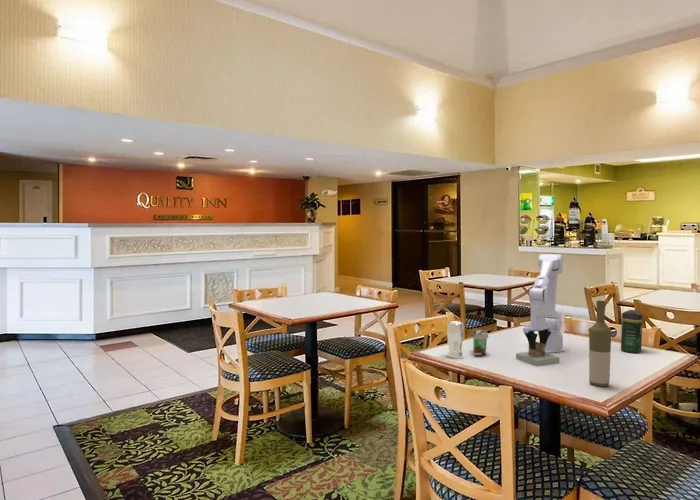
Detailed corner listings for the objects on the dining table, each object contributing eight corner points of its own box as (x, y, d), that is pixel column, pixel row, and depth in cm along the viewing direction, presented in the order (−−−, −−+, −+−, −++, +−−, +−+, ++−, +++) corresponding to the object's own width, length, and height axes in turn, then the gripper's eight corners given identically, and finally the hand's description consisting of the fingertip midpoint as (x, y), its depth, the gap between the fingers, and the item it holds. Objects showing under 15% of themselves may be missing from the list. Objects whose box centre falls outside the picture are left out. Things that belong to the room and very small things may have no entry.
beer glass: (466, 356, 207) (466, 322, 206) (458, 359, 202) (458, 324, 201) (452, 353, 212) (452, 320, 211) (443, 356, 207) (444, 322, 206)
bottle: (589, 386, 167) (590, 302, 166) (587, 380, 174) (588, 299, 172) (611, 388, 165) (613, 303, 163) (608, 382, 171) (610, 300, 170)
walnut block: (536, 353, 203) (536, 341, 203) (544, 355, 199) (544, 343, 199) (528, 354, 201) (528, 342, 201) (536, 357, 197) (537, 345, 197)
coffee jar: (639, 354, 209) (640, 312, 208) (619, 351, 214) (620, 310, 213) (643, 350, 216) (644, 309, 215) (623, 347, 221) (624, 308, 220)
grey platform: (537, 357, 208) (537, 350, 207) (559, 364, 196) (559, 357, 196) (516, 360, 203) (516, 353, 203) (536, 367, 192) (536, 360, 192)
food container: (489, 358, 204) (489, 335, 204) (474, 357, 205) (474, 334, 205) (487, 350, 216) (487, 329, 216) (473, 350, 217) (473, 328, 217)
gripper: (543, 313, 205) (542, 344, 206) (517, 315, 199) (517, 347, 200) (556, 315, 199) (555, 347, 200) (530, 318, 193) (530, 351, 194)
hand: (537, 348), depth 199 cm, fingers open, 5 cm apart
